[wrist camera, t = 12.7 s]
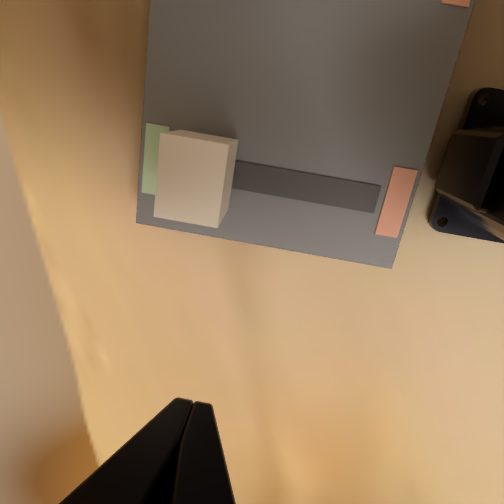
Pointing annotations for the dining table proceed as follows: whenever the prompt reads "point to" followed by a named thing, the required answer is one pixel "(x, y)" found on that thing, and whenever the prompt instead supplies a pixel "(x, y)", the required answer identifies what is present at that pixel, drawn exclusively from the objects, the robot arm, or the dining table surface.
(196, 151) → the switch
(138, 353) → the dining table surface
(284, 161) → the breaker panel
